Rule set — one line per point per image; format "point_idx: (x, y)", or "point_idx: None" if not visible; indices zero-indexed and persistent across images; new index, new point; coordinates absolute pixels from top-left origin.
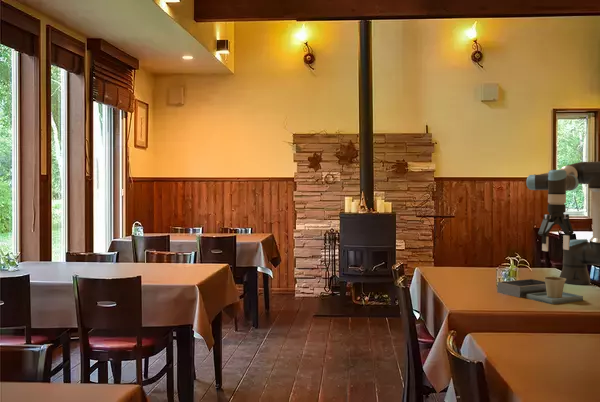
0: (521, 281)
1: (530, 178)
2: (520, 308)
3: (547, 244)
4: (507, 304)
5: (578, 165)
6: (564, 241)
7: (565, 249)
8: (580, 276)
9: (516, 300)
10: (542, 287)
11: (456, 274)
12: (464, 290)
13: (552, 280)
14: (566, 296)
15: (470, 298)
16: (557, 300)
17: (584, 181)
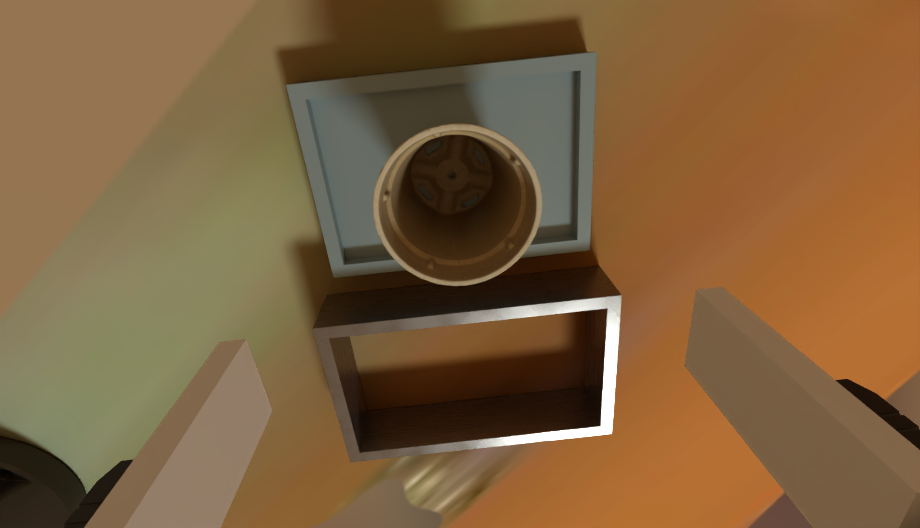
0: (441, 437)
1: None
2: (869, 14)
3: (791, 353)
4: (823, 138)
5: None
6: (211, 504)
7: (258, 378)
8: None
9: (681, 211)
10: (426, 306)
11: None
12: (696, 454)
13: (529, 162)
14: (360, 166)
15: (840, 315)
16: (540, 57)
17: None
